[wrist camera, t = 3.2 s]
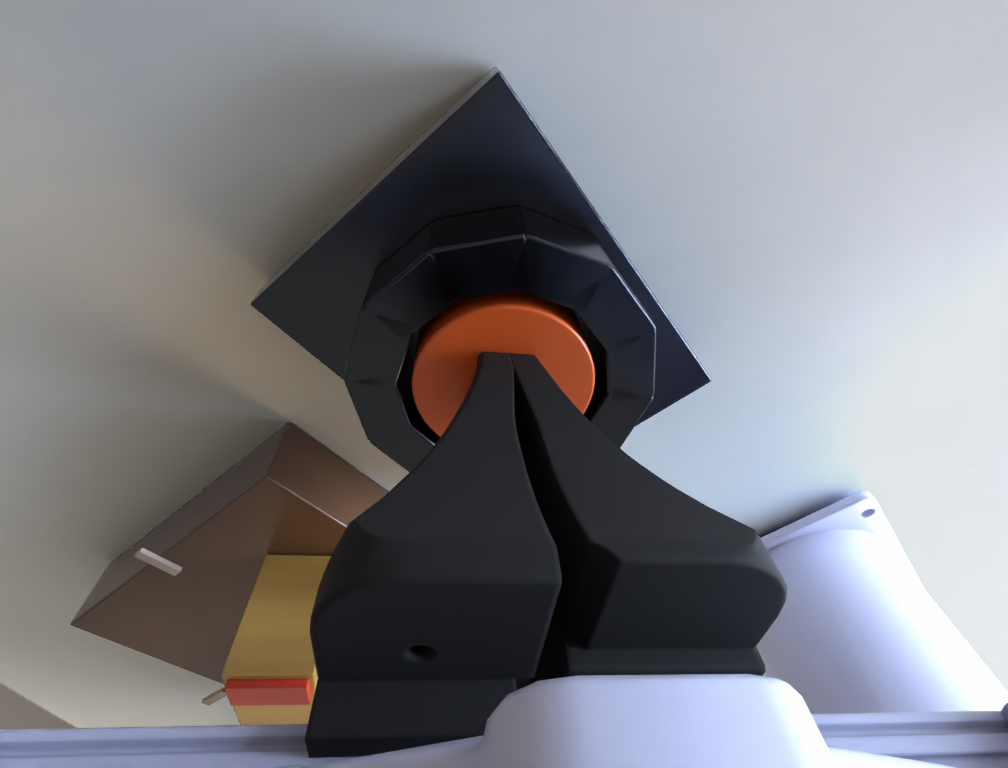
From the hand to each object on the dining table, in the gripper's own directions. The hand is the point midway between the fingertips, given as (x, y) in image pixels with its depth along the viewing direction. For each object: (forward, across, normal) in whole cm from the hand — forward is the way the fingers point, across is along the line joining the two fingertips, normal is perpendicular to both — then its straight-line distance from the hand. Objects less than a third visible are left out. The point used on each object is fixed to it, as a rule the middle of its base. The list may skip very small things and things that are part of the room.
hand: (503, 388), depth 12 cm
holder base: (+3, +6, +13) cm, 14 cm away
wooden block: (+1, +6, +13) cm, 14 cm away
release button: (+2, 0, 0) cm, 2 cm away
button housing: (+3, 0, 0) cm, 3 cm away
